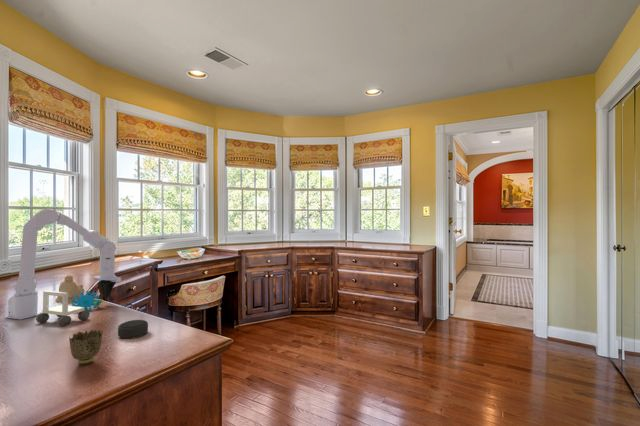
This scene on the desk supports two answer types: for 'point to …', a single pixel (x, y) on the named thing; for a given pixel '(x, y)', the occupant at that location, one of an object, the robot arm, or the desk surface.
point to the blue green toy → (87, 300)
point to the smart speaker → (132, 329)
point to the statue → (70, 289)
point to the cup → (85, 346)
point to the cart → (60, 309)
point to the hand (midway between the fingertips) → (106, 297)
